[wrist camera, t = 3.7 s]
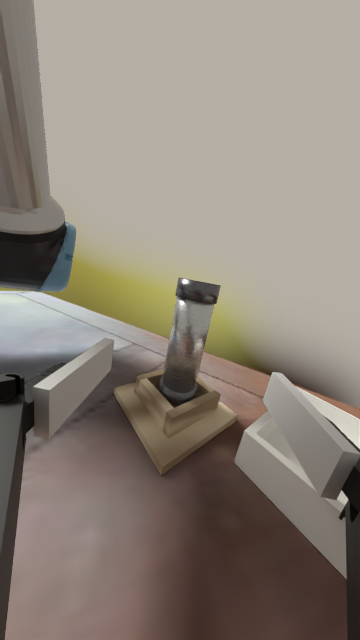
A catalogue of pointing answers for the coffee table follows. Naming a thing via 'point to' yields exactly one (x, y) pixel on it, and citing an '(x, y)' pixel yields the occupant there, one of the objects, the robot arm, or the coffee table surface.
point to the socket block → (172, 419)
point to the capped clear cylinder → (187, 339)
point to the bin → (298, 480)
